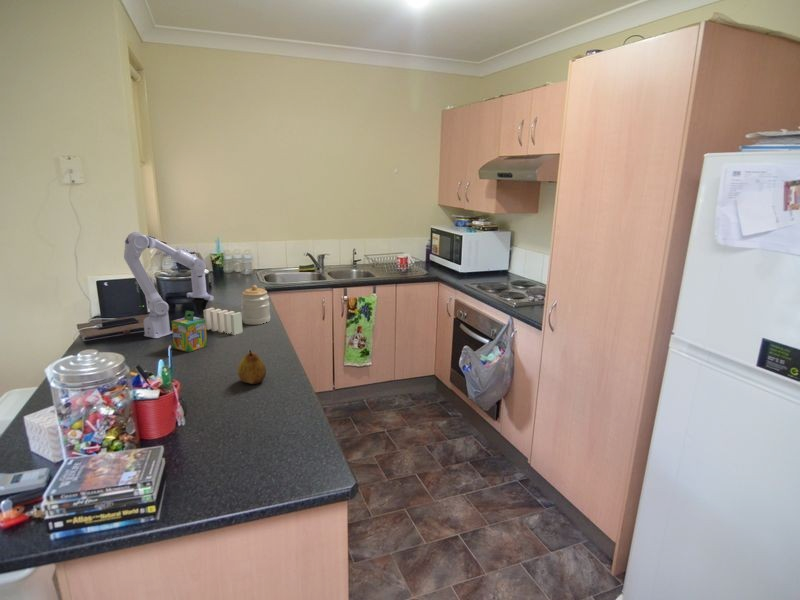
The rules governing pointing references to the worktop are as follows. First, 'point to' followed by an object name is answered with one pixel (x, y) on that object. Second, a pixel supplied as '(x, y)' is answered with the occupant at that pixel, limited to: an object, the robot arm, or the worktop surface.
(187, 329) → the chalk box
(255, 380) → the fruit
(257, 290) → the jar
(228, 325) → the domino
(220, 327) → the domino
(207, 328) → the domino
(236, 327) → the domino
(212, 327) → the domino
